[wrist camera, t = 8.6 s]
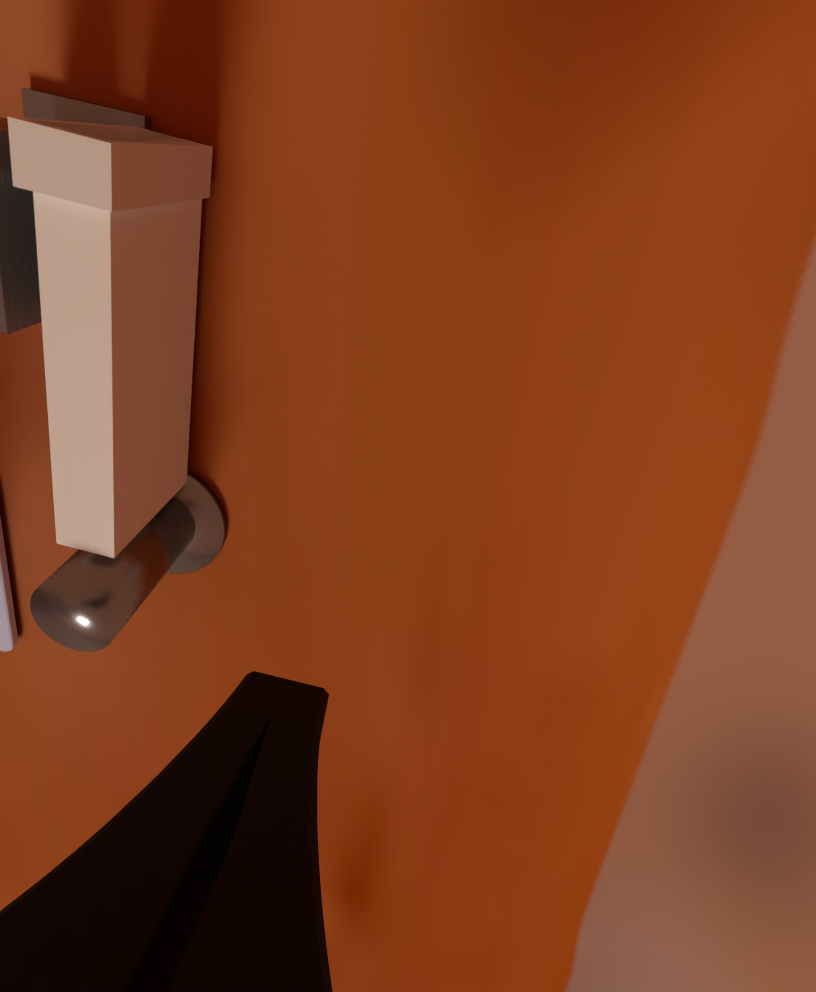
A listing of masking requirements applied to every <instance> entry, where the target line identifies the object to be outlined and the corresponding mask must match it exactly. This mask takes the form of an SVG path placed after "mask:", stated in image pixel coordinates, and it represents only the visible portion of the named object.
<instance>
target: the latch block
mask: <svg viewBox="0 0 816 992" xmlns="http://www.w3.org/2000/svg"><path fill="white" fill-rule="evenodd" d="M22 99H23V110H24V118H33V119H45V120H58V121H70V122H83V123H95V124H107V125H120V126H132V127H139V128H143V129H147V130H150V117H149V116H145V115H140V114H136V113H132V112H127V111H123V110H119V109H115V108H110V107H106V106H102V105H97V104H93V103H89V102H84V101H80V100H76V99H71V98H67V97H63V96H58V95H54V94H50V93H45V92H41V91H37V90H32V89H27V88H22ZM39 322H42V318H41V303H40V289H39V274H38V259H37V244H36V229H35V214H34V199H33V191H29V190H25V189H22V188H18V187H14V186H13V180H12V168H11V156H10V143H9V131H8V119H7V118H0V332H1V333H5V334H9V333H12V332H15V331H17V330H20V329H23V328H26V327H28V326H31V325H34V324H37V323H39Z"/></svg>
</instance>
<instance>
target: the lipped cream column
mask: <svg viewBox="0 0 816 992" xmlns="http://www.w3.org/2000/svg"><path fill="white" fill-rule="evenodd" d="M7 119H8V131H9V143H10V156H11V168H12V180H13V186H14V187H18V188H22V189H25V190H29V191H33V199H34V214H35V229H36V244H37V259H38V274H39V289H40V303H41V318H42V333H43V348H44V363H45V378H46V393H47V407H48V422H49V437H50V452H51V467H52V482H53V497H54V511H55V526H56V541H57V544H61V545H65V546H69V547H72V548H76V549H80V550H84V551H88V552H92V553H96V554H99V555H103V556H107V557H111V558H115V557H116V556H117V555H118V554H119V553H120V552H121V551H122V550H123V549H124V548H125V547H126V546H127V544H128V543H129V542H130V541H131V540H132V539H133V538H134V537H135V536H136V535H137V534H138V533H139V532H140V531H141V530H142V529H143V528H144V527H145V526H146V525H147V523H148V522H149V521H150V520H151V519H152V518H153V517H154V516H155V515H156V514H157V513H158V512H159V511H160V510H161V509H162V508H163V507H164V506H165V505H166V503H167V502H168V501H169V500H170V499H171V498H172V497H173V496H174V495H175V494H176V493H177V492H178V491H179V490H180V489H181V488H182V487H183V486H184V485H185V483H186V482H187V466H188V447H189V429H190V411H191V393H192V374H193V356H194V338H195V320H196V301H197V283H198V265H199V246H200V228H201V210H202V199H204V198H210V183H211V167H212V150H213V147H212V146H208V145H204V144H200V143H197V142H193V141H189V140H185V139H181V138H177V137H174V136H170V135H166V134H162V133H158V132H154V131H150V130H147V129H143V128H139V127H132V126H120V125H107V124H95V123H83V122H70V121H58V120H45V119H33V118H21V117H8V116H7Z"/></svg>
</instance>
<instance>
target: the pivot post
mask: <svg viewBox="0 0 816 992" xmlns="http://www.w3.org/2000/svg"><path fill="white" fill-rule="evenodd" d="M226 533H227V523H226V517H225V514H224V510H223V508H222V506H221V504H220V502H219V500H218V498H217V497H216V495H215V494H214V493H213V491H212V490H211V489H210V488H209V487H208V486H207V484H206V483H205V482H203V481H202V480H201V479H200V478H199V477H198V476H196V475H195V474H193V473H192V472H190V471H188V470H187V482H186V483H185V485H184V486H183V487H182V488H181V489H180V490H179V491H178V492H177V493H176V494H175V495H174V496H173V497H172V498H171V499H170V500H169V501H168V502H167V503H166V505H165V506H164V507H163V508H162V509H161V510H160V511H159V512H158V513H157V514H156V515H155V516H154V517H153V518H152V519H151V520H150V521H149V522H148V523H147V525H146V526H145V527H144V528H143V529H142V530H141V531H140V532H139V533H138V534H137V535H136V536H135V537H134V538H133V539H132V540H131V541H130V542H129V543H128V544H127V546H126V547H125V548H124V549H123V550H122V551H121V552H120V553H119V554H118V555H117V556H116V557H115V558H111V557H107V556H103V555H99V554H96V553H92V552H88V551H84V550H80V549H79V550H78V551H76V552H75V553H74V554H73V555H72V556H71V557H70V558H69V559H68V560H67V561H66V562H65V563H64V564H63V565H62V566H61V567H59V568H58V569H57V570H56V571H55V572H54V573H53V574H52V575H51V576H50V577H49V578H48V579H47V580H46V581H45V582H44V583H42V584H41V585H40V586H39V587H38V588H37V589H36V590H35V591H34V593H33V595H32V597H31V601H30V608H31V612H32V615H33V618H34V620H35V621H36V623H37V624H38V626H39V627H40V628H41V630H42V631H43V632H44V633H45V634H46V635H48V636H49V637H50V638H51V639H53V640H54V641H56V642H58V643H59V644H61V645H63V646H65V647H68V648H71V649H74V650H78V651H86V652H87V651H97V650H101V649H103V648H105V647H106V646H108V645H109V644H110V643H111V642H112V640H113V639H114V638H115V637H116V635H117V634H118V633H119V632H120V630H121V629H122V628H123V627H124V625H125V624H126V623H127V622H128V620H129V619H130V618H131V617H132V615H133V614H134V613H135V611H136V610H137V609H138V608H139V606H140V605H141V604H142V603H143V601H144V600H145V599H146V598H147V596H148V595H149V594H150V593H151V591H152V590H153V589H154V588H155V586H156V585H157V584H158V582H159V581H160V580H161V579H162V577H163V576H164V575H165V574H166V573H176V574H179V573H189V572H193V571H197V570H199V569H201V568H204V567H205V566H207V565H208V564H209V563H211V562H212V561H213V560H214V559H215V557H216V556H217V555H218V553H219V552H220V550H221V549H222V547H223V545H224V542H225V539H226Z"/></svg>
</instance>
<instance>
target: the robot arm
mask: <svg viewBox="0 0 816 992" xmlns="http://www.w3.org/2000/svg"><path fill="white" fill-rule="evenodd" d="M17 644H18V635H17V628H16V621H15V614H14V607H13V600H12V593H11V586H10V580H9V573H8V566H7V559H6V552H5V545H4V538H3V531H2V525H1V518H0V651H11V650H12V649H13V648H14V647H15V646H16V645H17ZM328 697H329V694H328V693H327V692H326V691H325V689H324V688H321V687H317V686H313V685H308V684H304V683H300V682H296V681H292V680H288V679H284V678H280V677H275V676H271V675H267V674H263V673H259V672H255V671H253V672H251V673H249V674H247V675H246V676H245V677H244V679H243V680H242V681H241V683H240V684H239V685H238V687H237V688H236V689H235V691H234V692H233V693H232V694H231V696H230V697H229V698H228V699H227V700H226V702H225V703H224V704H223V705H222V706H221V708H220V709H219V710H218V711H217V712H216V713H215V715H214V716H213V717H212V718H211V719H210V720H209V721H208V723H207V724H206V725H205V726H204V727H203V728H202V729H201V730H200V731H199V733H198V734H197V735H196V736H195V737H194V738H193V739H192V740H191V741H190V742H189V743H188V744H187V745H186V746H185V747H184V748H183V749H182V751H181V752H180V753H179V754H178V755H177V756H176V757H175V758H174V759H173V760H172V761H171V762H170V763H169V764H168V765H167V766H166V767H165V768H164V769H163V770H162V771H161V772H160V773H159V774H158V775H157V776H156V777H155V778H154V779H153V780H152V781H151V782H150V783H149V784H148V785H147V786H146V787H145V788H144V789H143V790H142V791H141V792H140V793H139V794H138V795H136V796H135V797H134V798H133V799H132V800H131V801H130V802H129V803H128V804H127V805H126V806H125V807H124V808H123V809H122V810H121V811H120V812H118V813H117V814H116V815H115V816H114V817H113V818H112V819H111V820H110V821H109V822H108V823H107V824H106V825H104V826H103V827H102V828H101V829H100V830H99V831H98V832H96V833H95V834H94V835H93V836H92V837H91V838H90V839H89V840H87V841H86V842H85V843H84V844H83V845H82V846H80V847H79V848H78V849H77V850H76V851H75V852H73V853H72V854H71V855H70V856H69V857H67V858H66V859H65V860H64V861H63V862H61V863H60V864H59V865H58V866H57V867H55V868H54V869H53V870H52V871H51V872H49V873H48V874H47V875H46V876H45V877H43V878H42V879H41V880H40V881H38V882H37V883H36V884H35V885H33V886H32V887H31V888H29V889H28V890H27V891H26V892H24V893H23V894H22V895H20V896H19V897H18V898H17V899H15V900H14V901H13V902H11V903H10V904H9V905H8V906H6V907H5V908H4V909H2V910H1V911H0V992H332V986H331V978H330V971H329V963H328V956H327V947H326V938H325V929H324V920H323V910H322V899H321V886H320V872H319V855H318V832H317V773H318V756H319V743H320V738H321V733H322V728H323V723H324V718H325V712H326V707H327V702H328Z"/></svg>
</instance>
